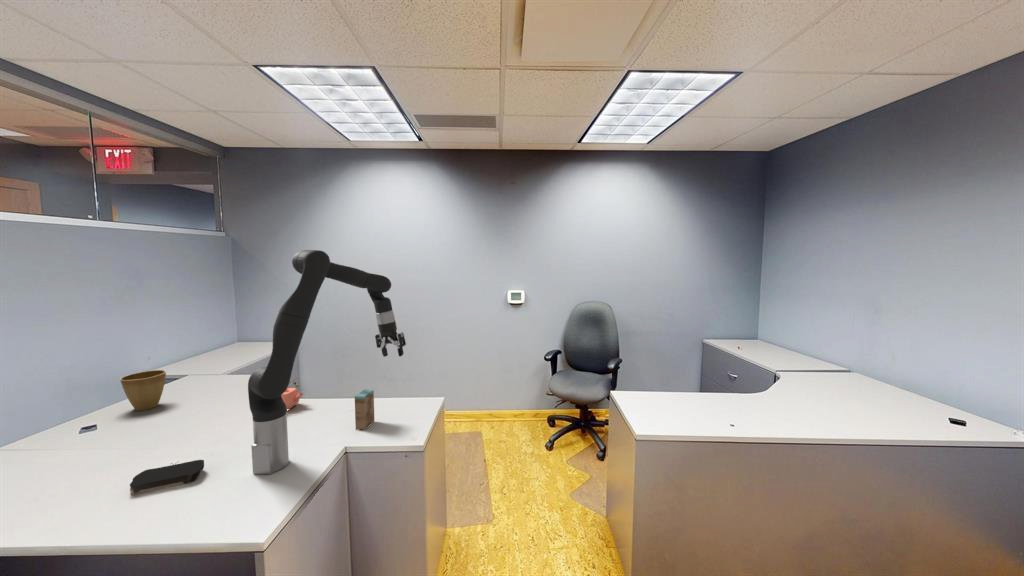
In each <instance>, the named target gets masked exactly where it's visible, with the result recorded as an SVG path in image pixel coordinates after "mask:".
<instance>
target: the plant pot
mask: <svg viewBox="0 0 1024 576" xmlns="http://www.w3.org/2000/svg"><path fill="white" fill-rule="evenodd" d="M166 375H167V370H165V369H164V370H163V369H153V370H145V371H139V372H136V373H131V374H128V375H124V376H123V377H120V379H119V380H120V383H121V386H122V389H123V391H124V395H125V396H126V398H127V399H128V401H129V403H130V404H131V406H132V407H133V409H134V410H135V411H147V410H151V409H154V408H156V407H157V406H159V403H160V401H161V398H162V394H163V392H164V387H165V383H166Z"/></svg>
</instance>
